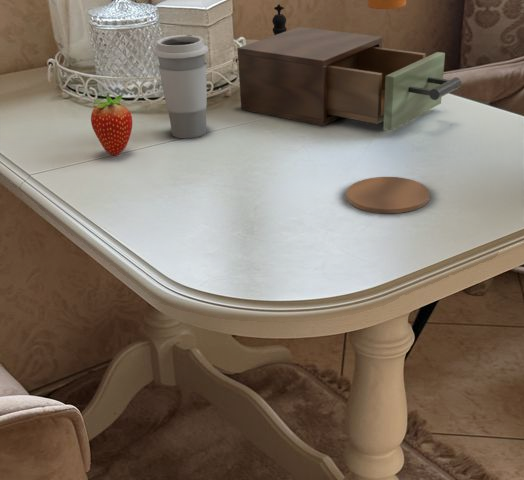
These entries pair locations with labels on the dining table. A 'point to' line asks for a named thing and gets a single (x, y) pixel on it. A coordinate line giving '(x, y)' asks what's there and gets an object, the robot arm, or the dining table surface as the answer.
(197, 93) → the cup
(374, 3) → the pill bottle
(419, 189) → the coaster
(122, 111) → the fruit
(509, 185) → the dining table surface
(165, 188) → the dining table surface
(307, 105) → the cabinet
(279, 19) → the chess piece
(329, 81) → the drawer
